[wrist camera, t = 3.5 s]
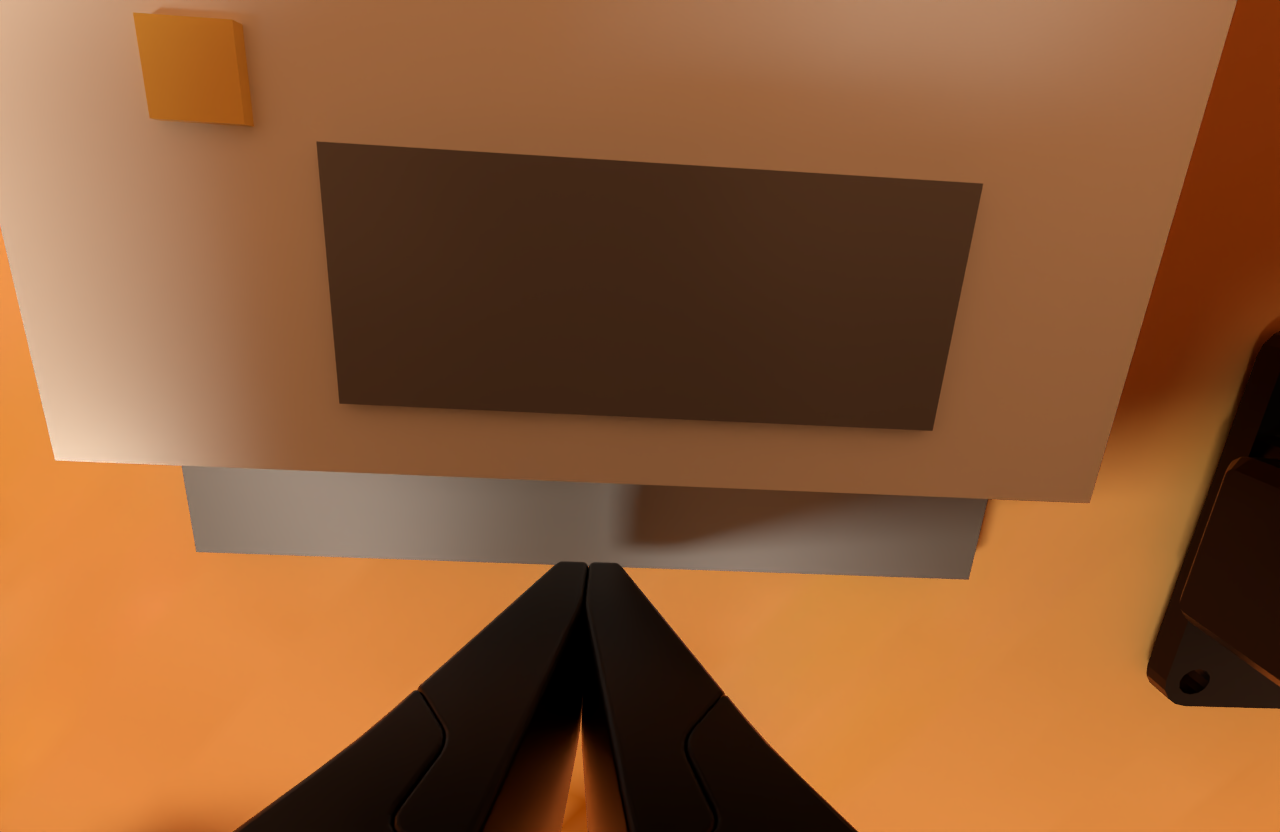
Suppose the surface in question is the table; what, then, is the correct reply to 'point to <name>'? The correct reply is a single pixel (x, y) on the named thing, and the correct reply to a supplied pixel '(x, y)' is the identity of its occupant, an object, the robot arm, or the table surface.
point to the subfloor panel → (580, 523)
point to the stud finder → (598, 233)
